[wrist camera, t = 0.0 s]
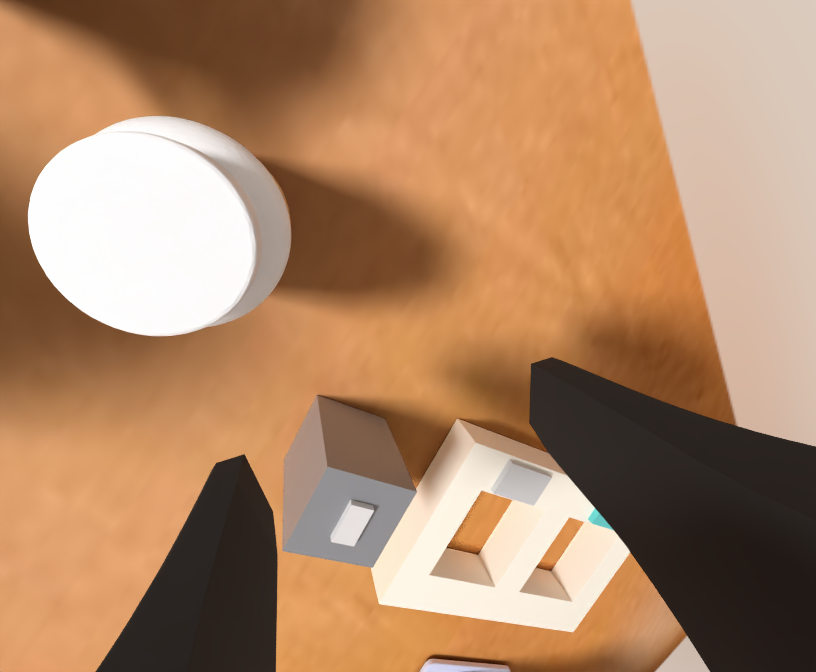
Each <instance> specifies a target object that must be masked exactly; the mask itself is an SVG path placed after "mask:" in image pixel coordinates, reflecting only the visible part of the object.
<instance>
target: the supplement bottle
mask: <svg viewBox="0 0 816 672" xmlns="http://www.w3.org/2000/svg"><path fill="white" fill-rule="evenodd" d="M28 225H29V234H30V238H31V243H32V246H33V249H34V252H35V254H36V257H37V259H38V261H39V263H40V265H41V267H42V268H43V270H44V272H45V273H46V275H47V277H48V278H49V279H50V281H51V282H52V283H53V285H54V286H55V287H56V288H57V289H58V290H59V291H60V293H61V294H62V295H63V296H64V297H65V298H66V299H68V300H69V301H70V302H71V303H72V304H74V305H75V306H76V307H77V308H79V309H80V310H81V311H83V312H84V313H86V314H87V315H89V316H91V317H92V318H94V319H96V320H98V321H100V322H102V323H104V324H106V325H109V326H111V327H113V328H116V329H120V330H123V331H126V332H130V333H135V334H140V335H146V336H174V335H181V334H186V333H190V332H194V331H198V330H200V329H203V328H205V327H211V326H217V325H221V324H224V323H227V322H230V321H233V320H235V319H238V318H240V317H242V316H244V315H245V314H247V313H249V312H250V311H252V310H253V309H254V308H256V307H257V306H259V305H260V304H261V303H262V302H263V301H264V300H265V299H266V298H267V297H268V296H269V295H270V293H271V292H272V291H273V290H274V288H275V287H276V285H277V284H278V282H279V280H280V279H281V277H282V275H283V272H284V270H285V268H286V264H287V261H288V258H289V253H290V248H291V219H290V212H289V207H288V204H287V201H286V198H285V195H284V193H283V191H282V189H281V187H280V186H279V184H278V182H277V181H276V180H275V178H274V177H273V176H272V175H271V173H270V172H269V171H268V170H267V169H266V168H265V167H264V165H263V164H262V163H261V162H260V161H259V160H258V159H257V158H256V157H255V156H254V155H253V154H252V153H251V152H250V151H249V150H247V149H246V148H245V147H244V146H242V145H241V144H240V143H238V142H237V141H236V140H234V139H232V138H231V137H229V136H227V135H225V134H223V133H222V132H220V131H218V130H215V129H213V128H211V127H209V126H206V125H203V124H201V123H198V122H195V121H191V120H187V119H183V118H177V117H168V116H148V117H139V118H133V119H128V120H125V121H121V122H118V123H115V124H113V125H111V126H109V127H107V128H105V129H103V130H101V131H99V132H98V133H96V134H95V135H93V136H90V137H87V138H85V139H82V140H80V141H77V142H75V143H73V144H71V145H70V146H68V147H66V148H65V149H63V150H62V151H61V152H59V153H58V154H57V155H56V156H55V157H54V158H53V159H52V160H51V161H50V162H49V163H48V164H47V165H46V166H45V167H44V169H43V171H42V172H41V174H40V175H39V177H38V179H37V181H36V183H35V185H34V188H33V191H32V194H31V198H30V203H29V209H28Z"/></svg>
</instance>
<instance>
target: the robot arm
mask: <svg viewBox="0 0 816 672" xmlns="http://www.w3.org/2000/svg"><path fill="white" fill-rule="evenodd" d="M529 423H530V424H531V426H532V428H533V429H534V431H535V432H536V434H537V436H538V437H539V439H540V440H541V442H542V443H543V445H544V446H545V448H546V449H547V451H548V452H549V454H550V455H551V457H552V458H553V459H554V460H555V461H556V463H557V464H558V465H559V466H560V467H561V469H562V470H563V471H564V472H565V473H566V475H567V476H568V477H569V478H570V479H571V481H572V482H573V483H574V484H575V485H576V486H577V488H578V489H579V490H580V491H581V492H582V493H583V495H584V496H585V497H586V498H587V499H588V501H589V502H590V503H591V504H592V505H593V506H594V508H595V509H596V510H597V511H598V512H599V513H600V515H601V516H602V517H603V518H604V519H605V520H606V522H607V523H608V524H609V525H610V526H611V528H612V529H613V530H614V531H615V533H616V534H617V535H618V536H619V538H620V539H621V540H622V541H623V543H624V544H625V545H626V547H627V548H628V549H629V551H630V552H631V554H632V555H633V556H634V558H635V559H636V561H637V562H638V564H639V565H640V566H641V568H642V569H643V571H644V572H645V573H646V575H647V576H648V578H649V579H650V581H651V582H652V583H653V585H654V586H655V588H656V589H657V591H658V592H659V594H660V595H661V597H662V598H663V600H664V601H665V603H666V604H667V606H668V607H669V609H670V610H671V612H672V613H673V615H674V616H675V618H676V619H677V621H678V622H679V624H680V625H681V626H682V628H683V630H684V631H685V633H686V634H687V636H688V637H689V639H690V641H691V642H692V644H693V645H694V647H695V648H696V650H697V651H698V653H699V655H700V656H701V658H702V659H703V661H704V663H705V664H706V666H707V667H708V669H709V670H710V672H816V447H815V446H811V445H807V444H803V443H798V442H794V441H789V440H786V439H782V438H778V437H774V436H770V435H766V434H762V433H759V432H755V431H752V430H748V429H745V428H741V427H738V426H735V425H731V424H728V423H724V422H721V421H718V420H714V419H711V418H708V417H705V416H702V415H699V414H696V413H693V412H690V411H688V410H685V409H682V408H679V407H676V406H674V405H671V404H668V403H665V402H662V401H660V400H657V399H654V398H652V397H649V396H647V395H644V394H642V393H639V392H636V391H634V390H631V389H629V388H627V387H624V386H622V385H619V384H617V383H614V382H612V381H609V380H607V379H605V378H602V377H600V376H598V375H595V374H593V373H590V372H588V371H586V370H583V369H581V368H578V367H576V366H574V365H571V364H569V363H566V362H563V361H561V360H558V359H555V358H553V357H551V358H548V359H545V360H542V361H539V362H536V363H532V364H531V386H530V421H529ZM276 622H277V546H276V535H275V526H274V517H273V511H272V509H271V507H270V505H269V503H268V501H267V499H266V497H265V495H264V493H263V491H262V489H261V487H260V485H259V483H258V481H257V479H256V477H255V475H254V473H253V471H252V469H251V467H250V465H249V463H248V461H247V458H246V456H245V454H244V455H241V456H238V457H234V458H231V459H228V460H225V461H222V462H218V463H216V464H215V466H214V468H213V469H212V471H211V473H210V475H209V477H208V479H207V481H206V483H205V485H204V487H203V489H202V491H201V493H200V495H199V497H198V499H197V501H196V503H195V505H194V507H193V509H192V511H191V512H190V514H189V516H188V518H187V520H186V522H185V524H184V526H183V528H182V530H181V531H180V533H179V535H178V537H177V539H176V541H175V542H174V544H173V546H172V548H171V550H170V552H169V553H168V555H167V557H166V559H165V561H164V563H163V564H162V566H161V568H160V570H159V571H158V573H157V575H156V576H155V578H154V580H153V581H152V583H151V585H150V587H149V588H148V590H147V592H146V593H145V595H144V597H143V598H142V600H141V602H140V603H139V605H138V607H137V608H136V610H135V612H134V613H133V615H132V617H131V618H130V620H129V621H128V623H127V625H126V626H125V628H124V629H123V631H122V632H121V634H120V636H119V637H118V639H117V640H116V642H115V643H114V645H113V646H112V648H111V649H110V651H109V653H108V654H107V656H106V657H105V659H104V660H103V662H102V663H101V665H100V666H99V667H98V669H97V670H96V672H276ZM420 672H511V671H510V669H509V667H508V666H506V665H498V664H487V663H476V662H465V661H454V660H443V659H429V660H427V661H426V662H425V664H424V665H423V667H422V668H421V670H420Z"/></svg>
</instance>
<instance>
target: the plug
mask: <svg viewBox="0 0 816 672" xmlns="http://www.w3.org/2000/svg"><path fill="white" fill-rule="evenodd" d="M416 493H417V490H416V488H415V486H414V484H413V481H412V479H411V477H410V474H409V472H408V470H407V468H406V465H405V463H404V461H403V458H402V456H401V454H400V452H399V449H398V447H397V445H396V442H395V440H394V438H393V436H392V433H391V431H390V429H389V426H388V424H387V422H386V420H385V418H382V417H379V416H376V415H373V414H370V413H368V412H365V411H362V410H359V409H356V408H353V407H351V406H348V405H345V404H342V403H339V402H336V401H333V400H331V399H328V398H325V397H322V396H319V395H317V396H316V398H315V400H314V402H313V404H312V406H311V407H310V409H309V411H308V413H307V415H306V417H305V419H304V421H303V423H302V425H301V427H300V429H299V431H298V433H297V435H296V437H295V439H294V441H293V443H292V445H291V447H290V449H289V451H288V453H287V455H286V456H285V458H284V488H283V547H282V551H285V552H290V553H296V554H301V555H306V556H312V557H317V558H323V559H328V560H333V561H339V562H344V563H350V564H355V565H360V566H366V567H371V568H373V567H374V565H375V563H376V561H377V560H378V558H379V556H380V555H381V553H382V551H383V549H384V548H385V546H386V544H387V543H388V541H389V539H390V538H391V536H392V534H393V532H394V531H395V529H396V527H397V526H398V524H399V522H400V520H401V519H402V517H403V515H404V514H405V512H406V510H407V508H408V507H409V505H410V503H411V502H412V500H413V498H414V496H415V495H416Z"/></svg>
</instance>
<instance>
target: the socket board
mask: <svg viewBox="0 0 816 672" xmlns="http://www.w3.org/2000/svg"><path fill="white" fill-rule="evenodd" d="M416 490H417V493H416V495H415V496H414V498H413V500H412V502H411V503H410V505H409V507H408V508H407V510H406V512H405V514H404V515H403V517H402V519H401V520H400V522H399V524H398V526H397V527H396V529H395V531H394V532H393V534H392V536H391V538H390V539H389V541H388V543H387V544H386V546H385V548H384V549H383V551H382V553H381V555H380V556H379V558H378V560H377V561H376V563H375V565H374V567H373V568H371V571H372V575H373V580H374V584H375V588H376V593H377V597H378V602H379V604H383V605H390V606H396V607H403V608H410V609H417V610H424V611H431V612H438V613H444V614H451V615H458V616H465V617H472V618H479V619H486V620H492V621H499V622H506V623H513V624H520V625H527V626H534V627H540V628H547V629H554V630H561V631H568V632H574V630H575V629H576V628H577V626H578V625H579V623H580V622H581V621H582V619H583V618H584V616H585V615H586V614H587V612H588V611H589V609H590V608H591V606H592V605H593V604H594V602H595V601H596V599H597V598H598V597H599V595H600V594H601V592H602V591H603V590H604V588H605V587H606V585H607V584H608V583H609V581H610V580H611V578H612V577H613V576H614V574H615V573H616V571H617V570H618V569H619V567H620V566H621V564H622V563H623V561H624V560H625V559H626V557H627V556H628V554H629V553H630V551H629V549H628V548H627V547H626V545H625V544H624V543H623V541H622V540H621V539H620V538H619V536H618V535H617V534H616V533H615V531H614V530H613V529H612V528H611V526H610V525H609V524H608V523H607V522H606V520H605V519H604V518H603V517H602V516H601V515H600V513H599V512H598V511H597V510H596V509H595V508H594V506H593V505H592V504H591V503H590V502H589V501H588V499H587V498H586V497H585V496H584V495H583V493H582V492H581V491H580V490H579V489H578V488H577V486H576V485H575V484H574V483H573V482H572V481H571V479H570V478H569V477H568V476H567V475H566V473H565V472H564V471H563V470H562V469H561V467H560V466H559V465H558V464H557V463H556V461H555V460H554V459H553V458H552V457H551V455H550V454H549V453H546V452H544V451H541V450H539V449H536V448H533V447H531V446H528V445H526V444H523V443H520V442H518V441H515V440H512V439H510V438H507V437H505V436H502V435H499V434H497V433H494V432H491V431H489V430H486V429H484V428H481V427H478V426H476V425H473V424H471V423H468V422H465V421H463V420H460V419H457V420H456V421H455V423H454V425H453V426H452V428H451V430H450V432H449V433H448V435H447V437H446V438H445V440H444V442H443V444H442V445H441V447H440V449H439V450H438V452H437V454H436V456H435V457H434V459H433V461H432V462H431V464H430V466H429V468H428V469H427V471H426V473H425V474H424V476H423V478H422V480H421V481H420V483H419V485H418V486H417V488H416ZM481 490H482V491H485V492H488V493H491V494H495V495H498V496H501V497H505V498H508V499H511V500H513V501H512V502H511V504H510V505H509V507H508V509H507V510H506V512H505V513H504V515H503V516H502V518H501V520H500V521H499V523H498V524H497V526H496V527H495V529H494V531H493V532H492V534H491V535H490V537H489V538H488V540H487V542H486V543H485V545H484V546H483V548H482V550H481V551H480V553H479V554H478V555H476V554H472V553H468V552H463V551H459V550H454V549H450V548H446V547H447V545H448V544H449V542H450V541H451V539H452V537H453V536H454V534H455V532H456V531H457V529H458V528H459V526H460V524H461V523H462V521H463V520H464V518H465V516H466V515H467V513H468V511H469V510H470V508H471V507H472V505H473V503H474V502H475V500H476V498H477V497H478V495H479V494H480V492H481ZM569 517H570V518H574V519H577V520H580V521H583V522H584V523H583V525H582V526H581V528H580V529H579V531H578V532H577V534H576V535H575V537H574V538H573V539H572V541H571V542H570V544H569V545H568V547H567V548H566V550H565V551H564V553H563V554H562V556H561V557H560V559H559V560H558V562H557V563H556V565H555V566H554V568H553V569H552V570H551V571H548V570H543V569H539V568H536V566H537V565H538V563H539V562H540V560H541V559H542V557H543V556H544V554H545V553H546V551H547V550H548V548H549V547H550V545H551V544H552V542H553V541H554V539H555V538H556V536H557V535H558V533H559V532H560V530H561V529H562V527H563V526H564V524H565V523H566V521H567V520H568V518H569Z"/></svg>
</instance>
